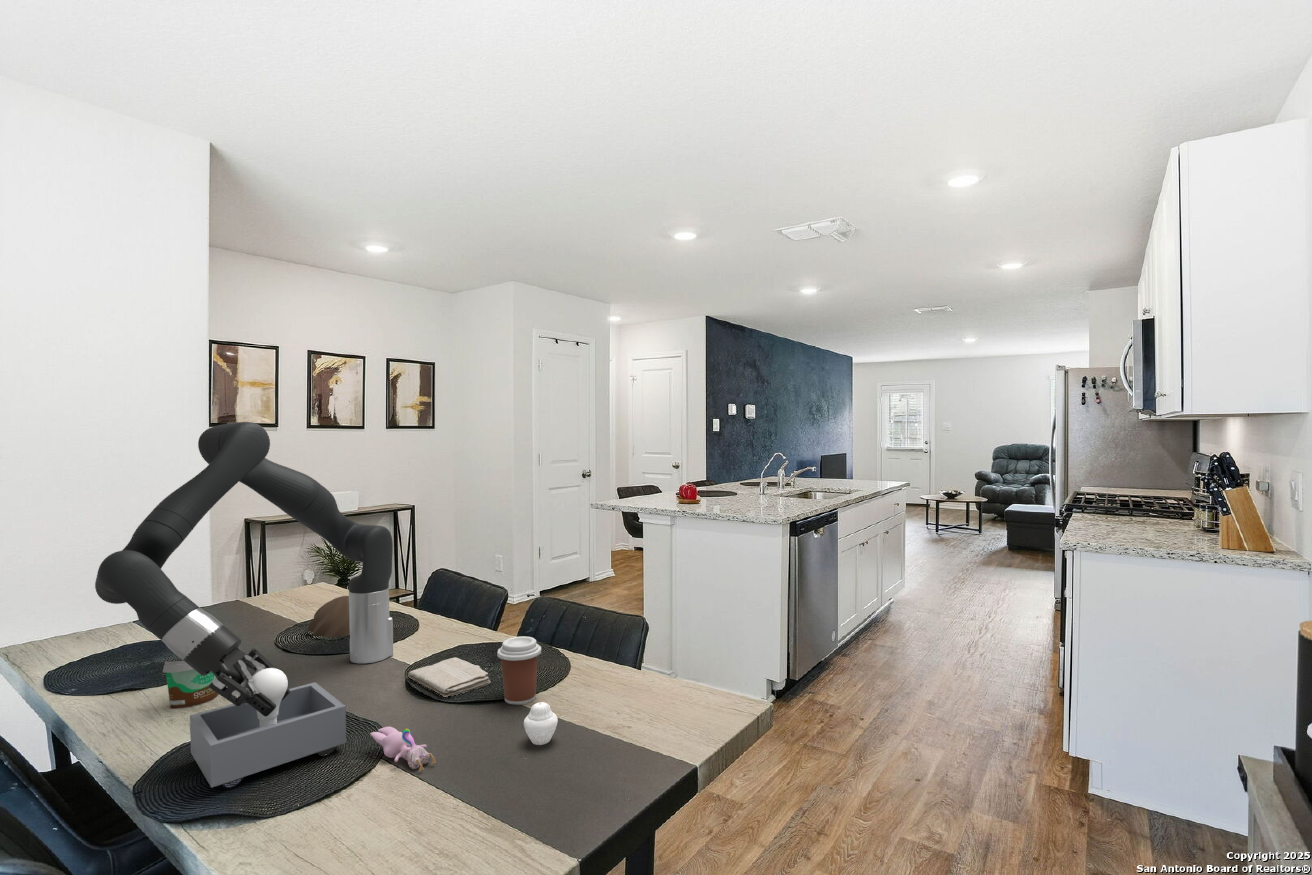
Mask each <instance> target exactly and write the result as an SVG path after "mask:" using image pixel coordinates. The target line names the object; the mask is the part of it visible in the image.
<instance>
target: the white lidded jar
mask: <svg viewBox="0 0 1312 875" xmlns="http://www.w3.org/2000/svg"><path fill="white" fill-rule="evenodd" d="M558 721H559V720H558V716H557V715H556V713H554V712H553V710H551V706H550V704H549V703H547V702H544V701H543V702H542V701H541V702H536V703H535V704H533V705H532V706H531V707H530V711H529V712H528V714H527V715H526V717H525V718H524V720H523V727H524V731H525V733H526V735H527V736H528V738H529V740H530V741H531V743H532V744H533V745H535V746H543V745H546V744H548V743H549V742H551V739H552V737H553V735H554V734H555V731H556V729H557V725H558V723H559V722H558Z"/></svg>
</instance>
